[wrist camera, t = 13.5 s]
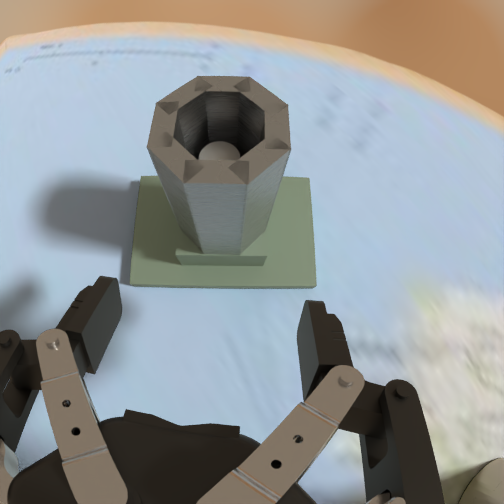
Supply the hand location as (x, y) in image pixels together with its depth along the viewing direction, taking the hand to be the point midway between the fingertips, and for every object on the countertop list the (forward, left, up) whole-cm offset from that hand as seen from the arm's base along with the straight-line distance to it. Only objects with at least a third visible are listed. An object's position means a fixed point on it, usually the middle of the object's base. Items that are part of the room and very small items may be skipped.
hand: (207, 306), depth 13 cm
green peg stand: (0, -7, -11) cm, 13 cm away
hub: (0, -7, -7) cm, 10 cm away
